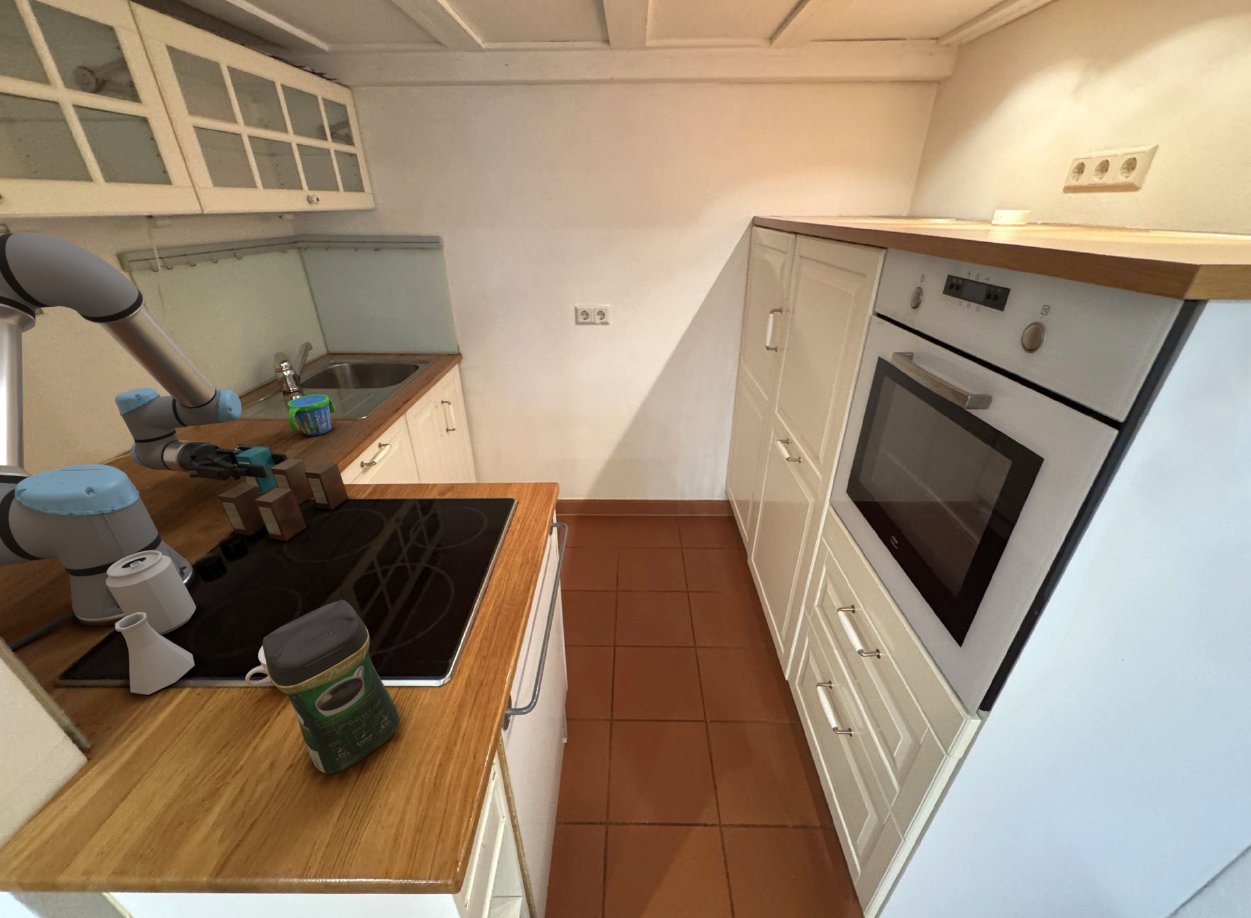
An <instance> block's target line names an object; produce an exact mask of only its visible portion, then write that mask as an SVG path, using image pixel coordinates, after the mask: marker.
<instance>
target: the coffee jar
mask: <svg viewBox="0 0 1251 918" xmlns="http://www.w3.org/2000/svg"><path fill="white" fill-rule="evenodd" d="M370 641H371V638H370V633H369V631H368V629H367V626H366V625H365V624H364V621H363V620H362V619H361V617H360V616H359V615H358V613H357V612H356V610H355V609H354V607H353V606H352V605H351V604H350V603H349V602H347V601H346V600H345V599H340V600H338V601H334V602H331V603H328V604H325V605H323V606H321V607H318V608H316V609H314V610H312V611H310V612H308V613H306V614H304V615H302V616H300V617H298V618H296V619H294V620H292V621H290V622H287V623H285V624H284V625H282V626H280V627H278V628H276V629H275V630H273V631H272V632H270V633H269V634H268V635H266V636H264V637H263V639H262V646H263V650H264V655H265V659H266V664H267V669H268V674H269V677H270V679H271V681H272V682H271V683H272V684H273V685H274V687H275V688H277V689H278V690H279V691H280V692H281V693H283V694H285V695H286V696H287V698H288V699H289V702H290V704H291V706H292V708H293V710H294V712H295V716H296V718H297V721H298V725H299V728H300V732H301V734H302V738H303V741H304V744H305V747H306V750H307V752H308V755H309V757H310V759H311V762H312V763H313V765H314V766H315V768H317V770H318V771H319V772H321V773H323V774H328V775H331V774H332V775H333V774H337V773H341V772H343V771H345V770H347V769H349V768H350V767H352V766H354V765H356V764H357V763H359V762H361V761H362V760H364V759H365V758H366V757H368V756H369V755H371V754H372V753H373V752H375V751H376V750H378V749H379V748H381V746H383V745H385V743H387V742H388V741H389V740H390V739H391V738H392V737H393V736H394V735H395V733H396V731H397V729H398V727H399V723H400V715H399V712H398V710H397V707H396V704H395V703H394V700H393V698H392V696H391V695H390V693H389V691H388V689H387V687H386V686H385V684H384V682H383V680H382V679H381V677H380V675H379V674H378V672H377V670H376V668H375V666H374V664H373V661H372V658H371V655H370V654H369V651H370V643H371V642H370ZM268 674H267V675H268Z"/></svg>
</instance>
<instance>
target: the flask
mask: <svg viewBox="0 0 1251 918" xmlns="http://www.w3.org/2000/svg"><path fill="white" fill-rule="evenodd" d="M114 627H115V628H114V629H115V631H116V632H119V633H120V632H121V634H122V637H123V638H124V639H125V642H126V647H127V649H128V659H129V660H128V661H129V662H128V663H129V666H128V667H129V687H130V690H129V691H130V693H131V694H139V695H147V696H148V695H151V694H153V693H156V692H157V691H159V690H162V689H163V688H166V687H169V686H171V685H172V684H174V683H176V682H178V681H179V680H180V679H181V678H182V677H183V676H185V674H187V673H188V672H189V671H190V670H191V669H192V668H194V667H195V661H194V656H193V654H192V653H191V652H189V650H188V651H187V650H186V649H184V648H183V647H181V646H179V645H178V644H176V643H173V641H171V640H169V639H167V638H166V637H164V636H163V635H159V634H158V633H157V632H156V631H155V630H154V629H153V628H152V627H151V626H150V625H149V624H148V622H147V615H146V613H142V612H136V613H134V614H131V615H128V616H126V617H124V618H123V619H121V620H120V621H118V622H117V623H115V624H114Z"/></svg>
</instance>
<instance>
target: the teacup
mask: <svg viewBox="0 0 1251 918" xmlns="http://www.w3.org/2000/svg"><path fill="white" fill-rule="evenodd" d="M257 655H258V656H257V657H258V658H257V659H258V660H259V662H260V665H259V666H256V667H253V668H252V669H251V670H249V671H248V673H247V674H246V675H245V679H244V680H245V683H246V684H247V685H248V686H249V687H258V686H262V685H266V684H269V683H272V681H271V679H270V677H269V674H268V669H267V664H266V659H265V655H264V650H263V645H261V647H260V648H259V651H258V654H257ZM256 673H261V674H266V675H267V676H266V677H264V678H262V679H261V680H258V681H251V680H250V679H251V677H252V676H253V675H254V674H256Z"/></svg>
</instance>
